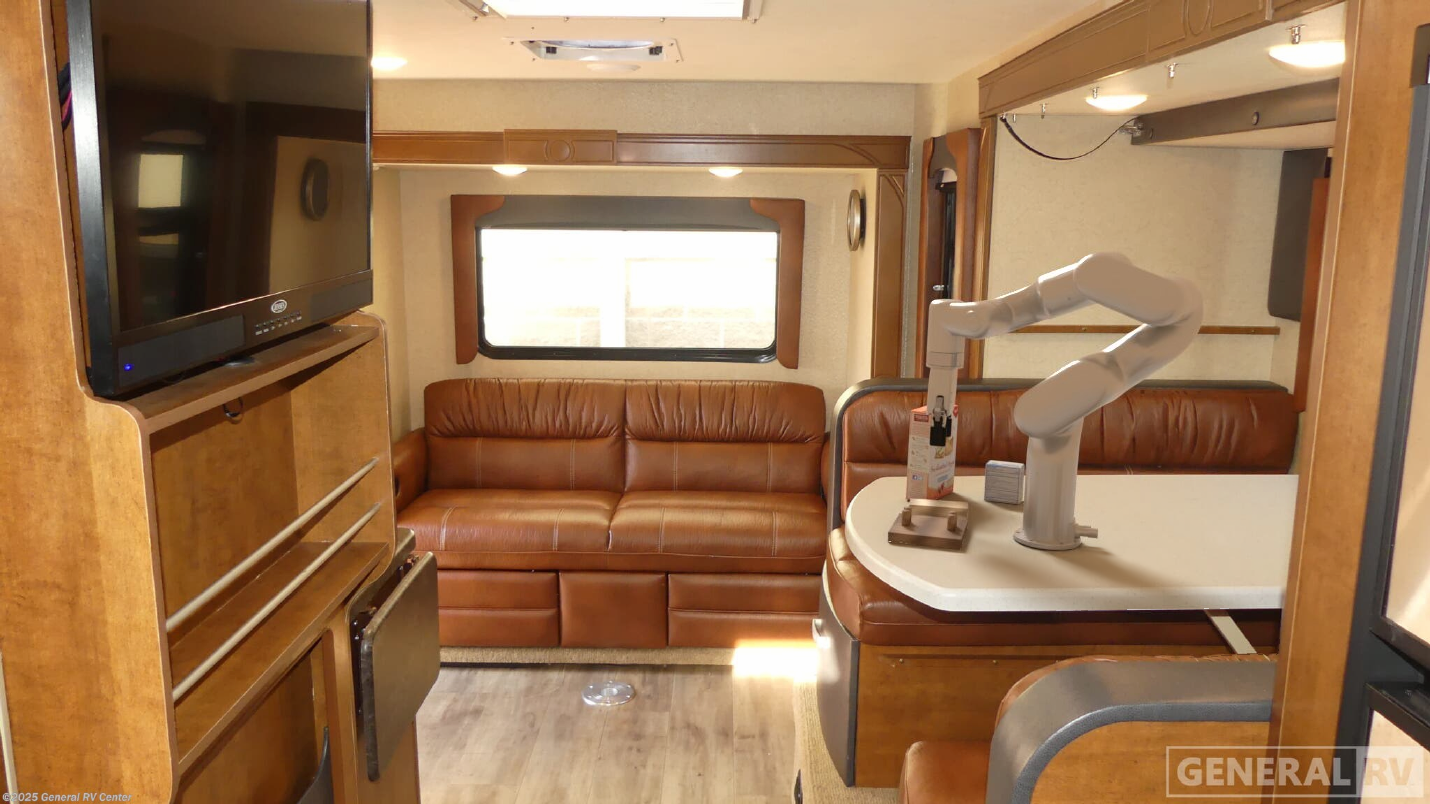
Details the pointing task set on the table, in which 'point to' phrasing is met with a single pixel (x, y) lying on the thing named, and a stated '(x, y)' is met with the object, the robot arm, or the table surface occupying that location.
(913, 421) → the cracker box
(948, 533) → the peg board
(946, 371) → the robot arm
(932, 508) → the beige wooden block
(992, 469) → the medicine box
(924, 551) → the table surface
